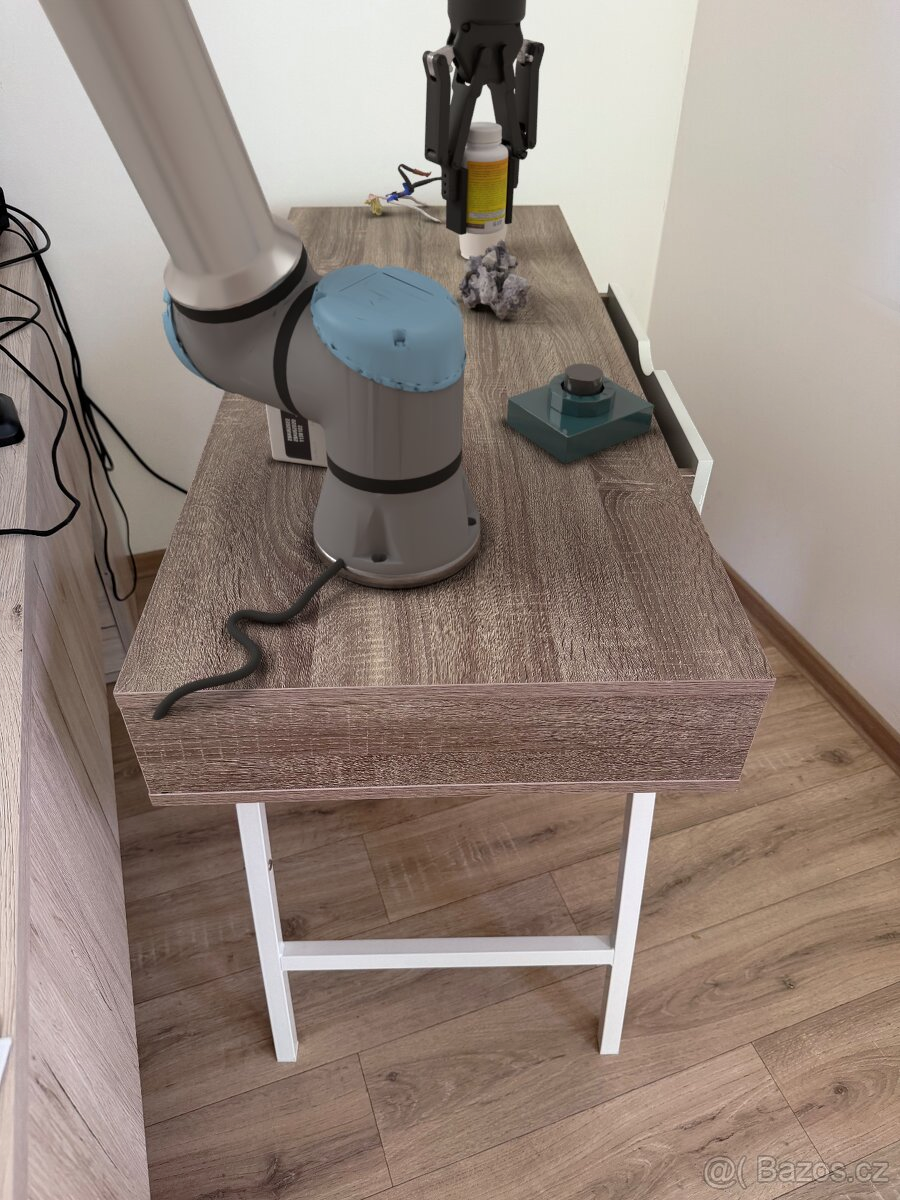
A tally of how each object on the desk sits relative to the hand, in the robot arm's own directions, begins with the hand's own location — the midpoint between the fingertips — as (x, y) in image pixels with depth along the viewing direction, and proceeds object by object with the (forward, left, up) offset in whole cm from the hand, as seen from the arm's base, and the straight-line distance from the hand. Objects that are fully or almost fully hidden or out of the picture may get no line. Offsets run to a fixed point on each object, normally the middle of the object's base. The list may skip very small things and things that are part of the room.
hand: (479, 225), depth 101 cm
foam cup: (+22, +29, -17) cm, 40 cm away
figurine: (+23, +51, -17) cm, 59 cm away
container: (-25, -6, -17) cm, 31 cm away
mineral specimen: (+11, +12, -17) cm, 24 cm away
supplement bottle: (0, 0, -1) cm, 1 cm away
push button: (0, -19, -12) cm, 22 cm away
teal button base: (0, -19, -17) cm, 25 cm away
